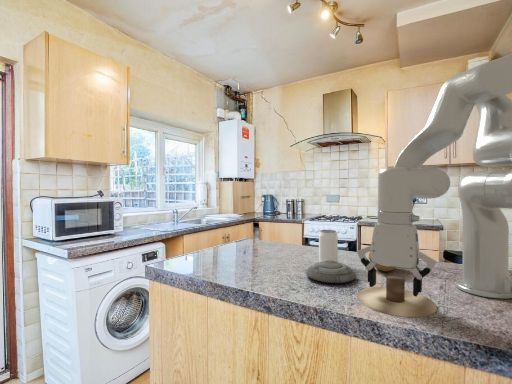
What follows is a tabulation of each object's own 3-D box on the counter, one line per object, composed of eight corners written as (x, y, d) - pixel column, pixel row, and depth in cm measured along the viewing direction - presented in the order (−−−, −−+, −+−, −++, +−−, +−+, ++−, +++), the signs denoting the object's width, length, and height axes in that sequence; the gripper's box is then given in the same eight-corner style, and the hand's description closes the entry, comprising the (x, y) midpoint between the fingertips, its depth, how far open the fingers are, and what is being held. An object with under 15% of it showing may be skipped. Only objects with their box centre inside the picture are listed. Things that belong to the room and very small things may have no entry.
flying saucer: (310, 287, 81) (310, 267, 81) (302, 271, 96) (302, 255, 96) (364, 286, 81) (364, 267, 81) (347, 271, 96) (347, 254, 96)
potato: (365, 273, 92) (365, 248, 92) (371, 263, 104) (371, 241, 104) (399, 278, 87) (399, 252, 87) (401, 267, 99) (401, 243, 99)
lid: (439, 299, 71) (440, 276, 71) (432, 326, 58) (432, 297, 58) (368, 285, 82) (368, 265, 81) (348, 305, 68) (348, 281, 68)
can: (339, 266, 100) (339, 232, 100) (321, 266, 100) (320, 232, 100) (335, 261, 107) (334, 229, 107) (317, 261, 107) (317, 229, 107)
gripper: (438, 220, 67) (437, 294, 67) (363, 215, 78) (362, 279, 78) (434, 223, 61) (433, 303, 61) (353, 217, 72) (352, 286, 72)
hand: (393, 290), depth 70 cm, fingers open, 9 cm apart
